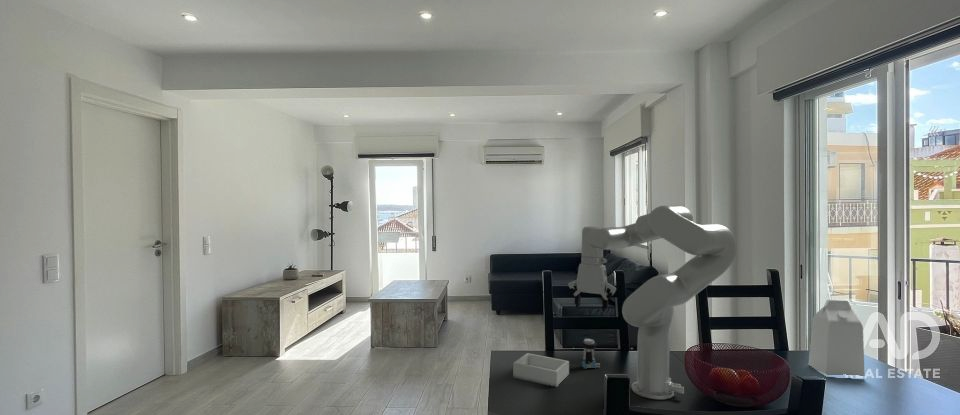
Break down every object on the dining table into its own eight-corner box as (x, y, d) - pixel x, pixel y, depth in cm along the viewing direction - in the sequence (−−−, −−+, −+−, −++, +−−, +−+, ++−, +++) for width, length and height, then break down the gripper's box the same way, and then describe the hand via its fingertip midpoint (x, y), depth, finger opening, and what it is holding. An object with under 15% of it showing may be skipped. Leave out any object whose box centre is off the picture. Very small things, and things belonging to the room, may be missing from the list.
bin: (568, 375, 160) (569, 361, 160) (556, 387, 150) (556, 371, 150) (527, 366, 168) (527, 353, 168) (513, 377, 158) (513, 362, 158)
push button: (598, 365, 170) (599, 338, 170) (601, 371, 165) (601, 342, 164) (580, 364, 171) (580, 337, 170) (581, 370, 165) (582, 342, 165)
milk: (844, 368, 170) (846, 297, 170) (864, 380, 159) (866, 304, 158) (808, 365, 172) (810, 295, 172) (825, 377, 161) (827, 302, 161)
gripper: (619, 261, 166) (617, 309, 166) (572, 258, 175) (571, 303, 175) (613, 264, 159) (612, 314, 160) (565, 260, 168) (564, 307, 168)
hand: (591, 308), depth 167 cm, fingers open, 9 cm apart
